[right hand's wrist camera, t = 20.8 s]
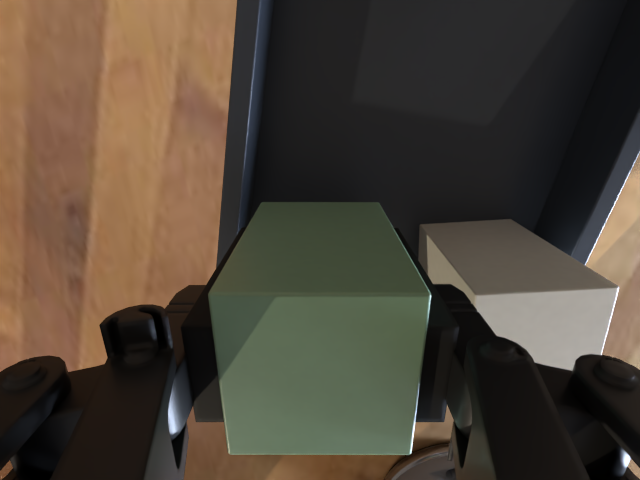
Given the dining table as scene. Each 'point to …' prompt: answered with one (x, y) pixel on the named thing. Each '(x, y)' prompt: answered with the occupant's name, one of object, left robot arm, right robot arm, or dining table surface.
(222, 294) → the sage block
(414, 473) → the right robot arm
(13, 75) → the dining table surface
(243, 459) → the dining table surface
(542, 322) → the cream block
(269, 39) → the tray
